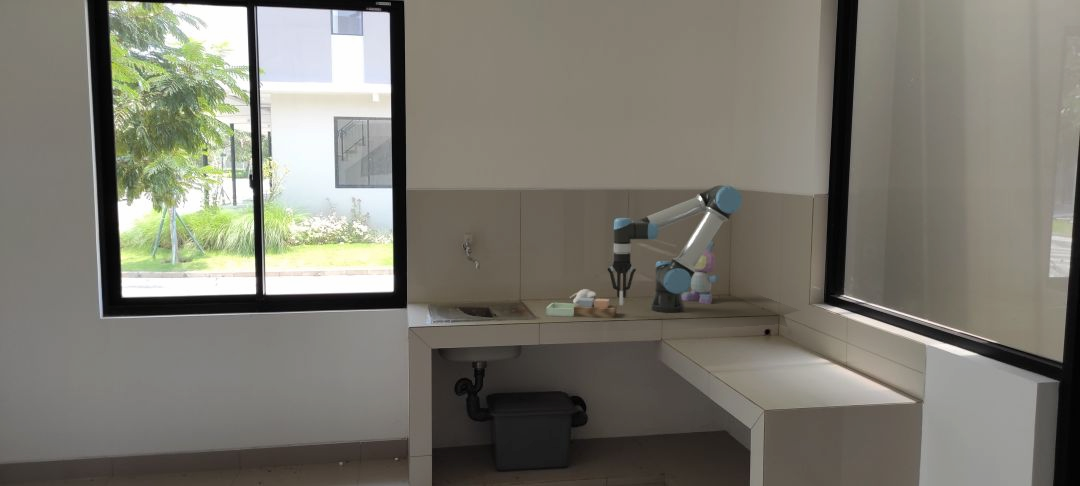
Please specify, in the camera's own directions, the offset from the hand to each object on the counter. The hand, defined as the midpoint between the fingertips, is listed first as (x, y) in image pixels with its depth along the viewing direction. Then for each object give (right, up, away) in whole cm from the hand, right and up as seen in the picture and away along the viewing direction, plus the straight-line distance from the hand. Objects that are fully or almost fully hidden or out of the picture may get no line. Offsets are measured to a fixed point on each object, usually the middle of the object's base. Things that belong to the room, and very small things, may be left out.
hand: (621, 304), depth 354 cm
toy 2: (+43, -1, +38) cm, 58 cm away
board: (-12, -5, +3) cm, 13 cm away
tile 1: (-16, -1, +4) cm, 16 cm away
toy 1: (-16, -3, +23) cm, 28 cm away
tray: (-26, -5, +7) cm, 28 cm away
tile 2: (-9, -1, +2) cm, 9 cm away
